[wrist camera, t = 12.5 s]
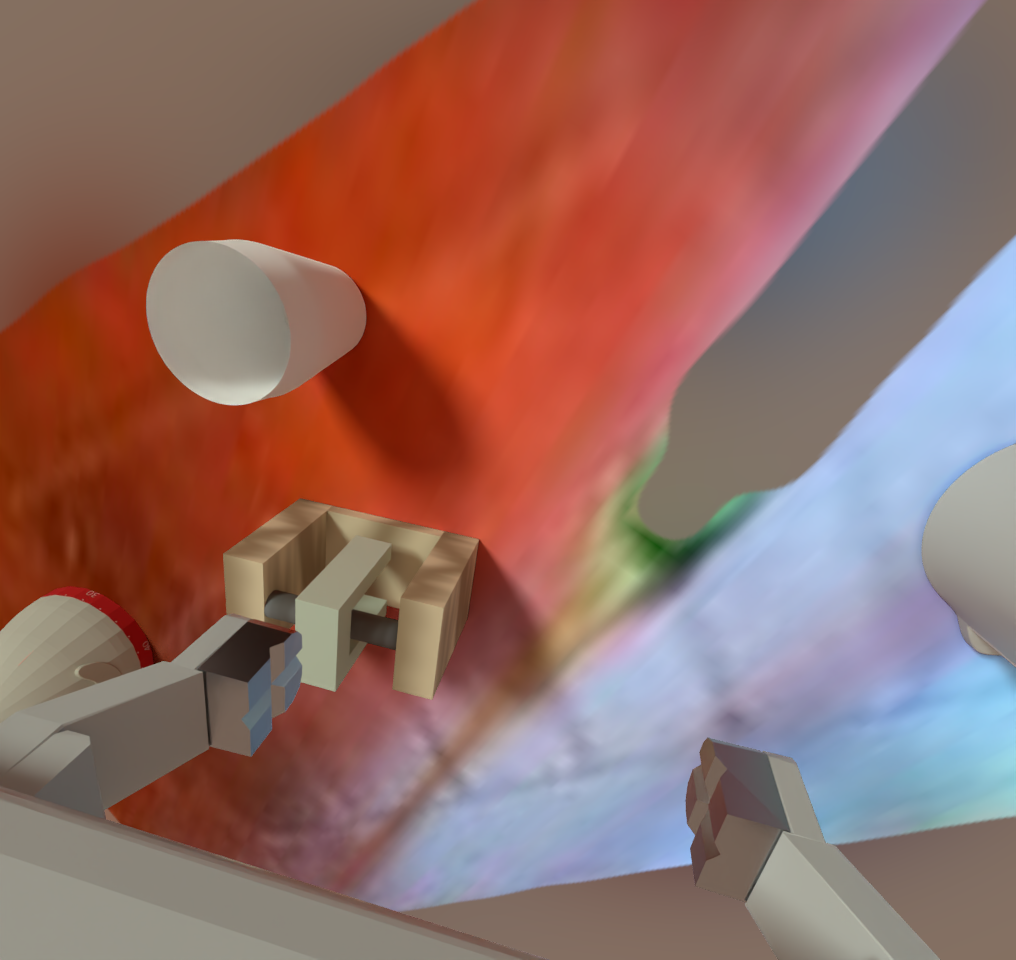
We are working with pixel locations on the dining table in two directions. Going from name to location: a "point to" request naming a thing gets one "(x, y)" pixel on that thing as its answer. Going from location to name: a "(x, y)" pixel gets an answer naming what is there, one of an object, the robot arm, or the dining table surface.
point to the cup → (250, 318)
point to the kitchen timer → (66, 648)
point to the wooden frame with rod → (403, 583)
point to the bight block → (338, 611)
